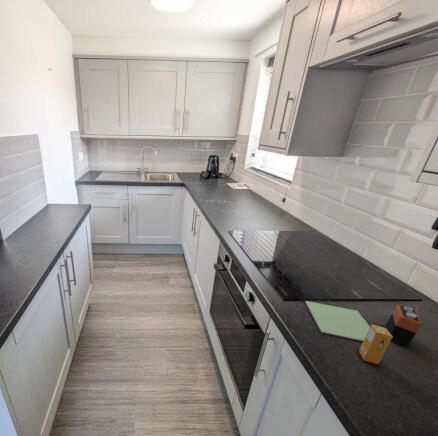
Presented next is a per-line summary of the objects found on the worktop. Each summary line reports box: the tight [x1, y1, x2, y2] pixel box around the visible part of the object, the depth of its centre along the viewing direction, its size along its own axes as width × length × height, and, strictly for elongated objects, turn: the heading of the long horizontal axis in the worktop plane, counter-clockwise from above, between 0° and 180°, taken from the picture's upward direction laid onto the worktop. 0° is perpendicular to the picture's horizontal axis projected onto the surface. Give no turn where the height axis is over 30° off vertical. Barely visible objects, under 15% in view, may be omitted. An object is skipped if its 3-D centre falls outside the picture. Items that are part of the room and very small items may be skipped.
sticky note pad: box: [305, 300, 371, 342], centre depth 75 cm, size 16×14×1 cm
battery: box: [384, 304, 423, 347], centre depth 68 cm, size 4×7×10 cm, turn 141°
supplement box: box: [358, 324, 393, 365], centre depth 61 cm, size 3×3×10 cm
